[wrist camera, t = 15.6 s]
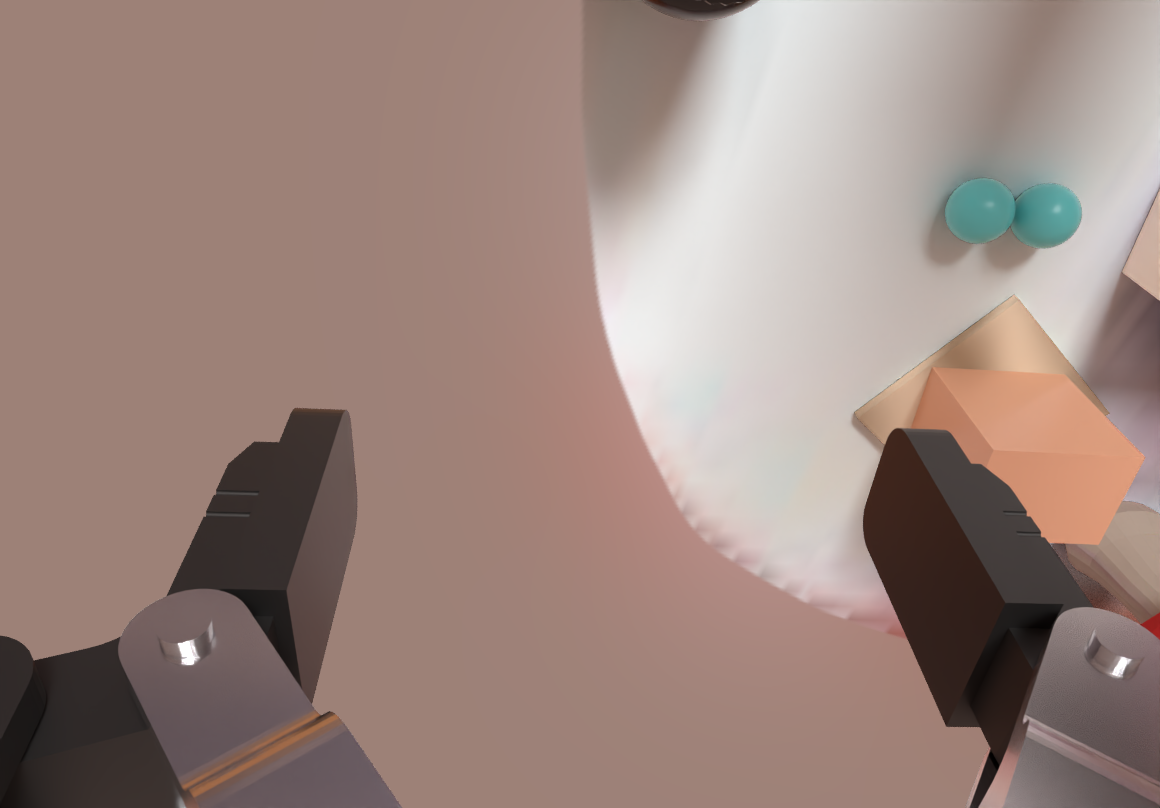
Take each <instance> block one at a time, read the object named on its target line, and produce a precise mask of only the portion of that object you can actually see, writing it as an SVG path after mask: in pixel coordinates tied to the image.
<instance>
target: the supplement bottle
mask: <svg viewBox="0 0 1160 808" xmlns="http://www.w3.org/2000/svg"><path fill="white" fill-rule="evenodd" d="M642 1H643V2H645V3H646V4H647V5H649V6H651V7H652V8H654V9H655V10H657V11H659V12H661V13H664V14H666V15H669V16H672V17H674V18H679V19H683V20H691V21H708V20H716V19H720V18H725V17H728V16H731V15H734V14H736V13H738V12H741V11H743V10H745V9H746V8H748V7H750V6H752V5H753V4H755V3H756V2H758V1H759V0H642Z"/></svg>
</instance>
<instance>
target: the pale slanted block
mask: <svg viewBox="0 0 1160 808" xmlns="http://www.w3.org/2000/svg"><path fill="white" fill-rule="evenodd" d="M1122 273H1124V274H1125V275H1126V276H1127V277H1129V278H1130V279H1131V280H1133V281H1134V282H1135V283H1137V284H1138V285H1139V286H1141V287H1142V288H1143V289H1145V290H1146V291H1147V292H1149V293H1150V294H1151V295H1153V296H1154V297H1155V298H1157V299H1158V300H1159V301H1160V190H1159V192H1158V194H1157V196H1156V199H1155V201H1154V203H1153V205H1152V207H1151V210H1150V212H1149V214H1148V216H1147V218H1146V221H1145V223H1144V225H1143V227H1142V229H1141V231H1140V234H1139V236H1138V238H1137V240H1136V242H1135V245H1134V247H1133V249H1132V251H1131V253H1130V256H1129V258H1128V260H1127V262H1126V264H1125V266H1124V269H1123V271H1122Z"/></svg>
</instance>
